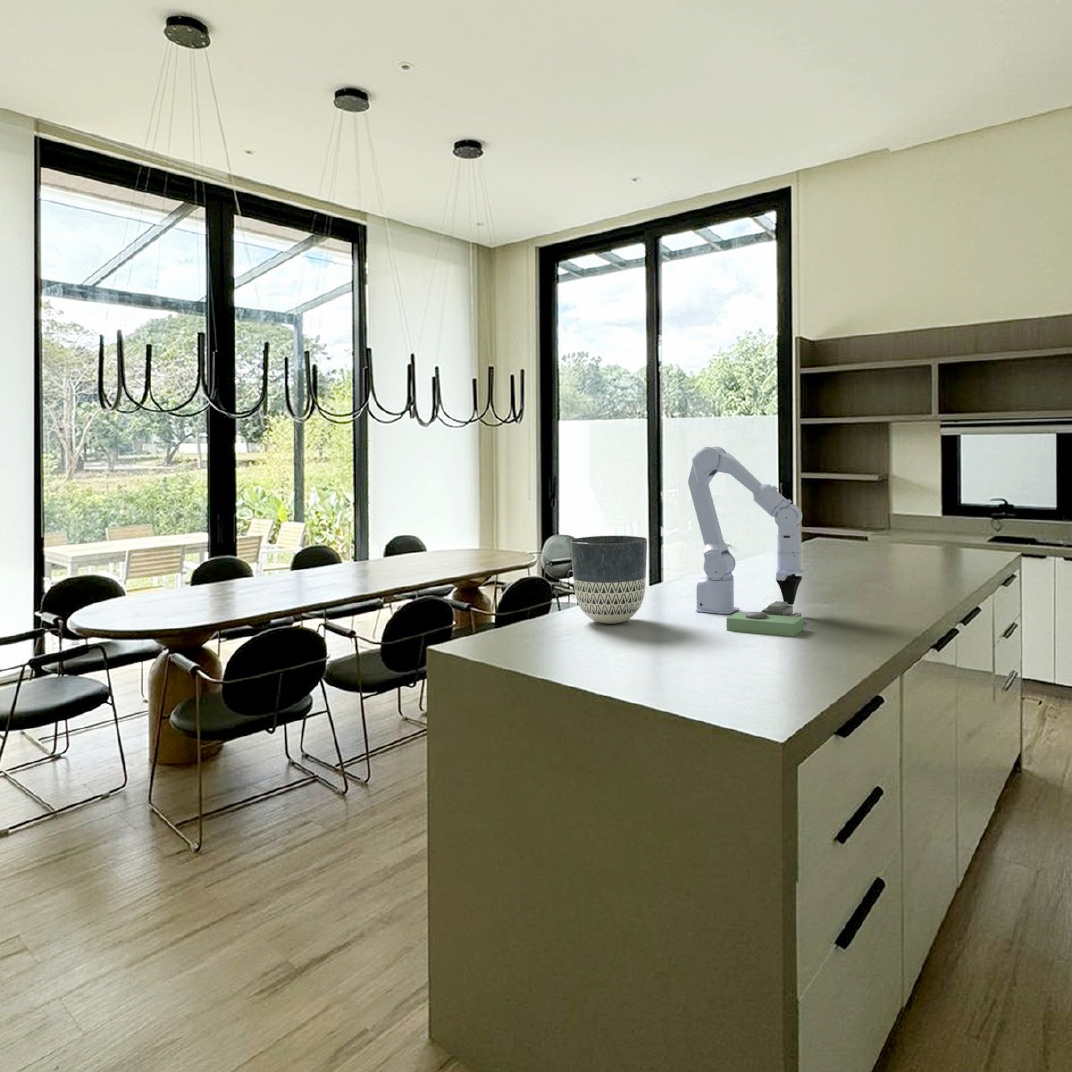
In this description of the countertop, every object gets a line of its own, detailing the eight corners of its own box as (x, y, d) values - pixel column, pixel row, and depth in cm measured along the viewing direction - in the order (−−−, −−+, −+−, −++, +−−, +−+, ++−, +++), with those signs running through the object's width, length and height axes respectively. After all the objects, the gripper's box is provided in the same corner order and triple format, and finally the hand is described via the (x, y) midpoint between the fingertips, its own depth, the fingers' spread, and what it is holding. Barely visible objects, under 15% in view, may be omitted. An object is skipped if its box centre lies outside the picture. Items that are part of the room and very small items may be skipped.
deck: (726, 630, 199) (726, 614, 199) (751, 616, 214) (751, 602, 214) (793, 636, 190) (793, 620, 190) (814, 622, 205) (814, 606, 205)
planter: (572, 615, 223) (569, 536, 221) (644, 613, 222) (643, 534, 220) (573, 631, 204) (570, 544, 201) (652, 629, 203) (650, 542, 201)
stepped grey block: (762, 626, 203) (762, 606, 203) (772, 619, 211) (772, 600, 210) (782, 628, 201) (782, 607, 200) (792, 621, 208) (792, 601, 208)
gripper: (796, 556, 204) (796, 610, 206) (812, 549, 216) (812, 600, 218) (768, 554, 208) (768, 608, 210) (785, 548, 220) (785, 598, 222)
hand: (789, 604), depth 214 cm, fingers closed
